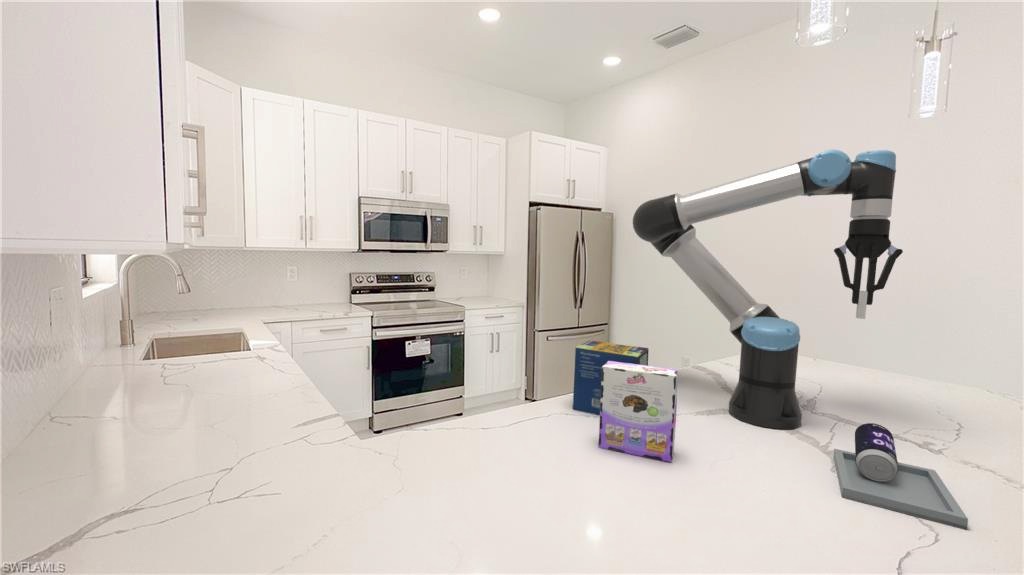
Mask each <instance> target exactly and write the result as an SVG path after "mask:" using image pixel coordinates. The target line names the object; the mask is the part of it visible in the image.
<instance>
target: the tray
mask: <svg viewBox="0 0 1024 575" xmlns="http://www.w3.org/2000/svg"><path fill="white" fill-rule="evenodd" d="M833 460H834V461H833V462H834V465H835V470H836V475H837V480H838V486H839V489H840V495H841V498H844V499H848V500H851V501H855V502H858V503H863V504H867V505H871V506H873V507H874V506H875V507H878V508H883V509H886V510H890V511H894V512H898V513H901V514H905V515H909V516H912V517H916V518H921V519H925V520H928V521H932V522H936V523H939V522H940V524H943V523H945V524H944V525H947V524H949V525H948V526H951V525H952V526H951V527H955V526H956V528H958V527H959V528H958V529H962V528H963V530H966V529H967V530H968V523H969V518H968V517H967V515H966V513H964V510H962V508H961V506H960V505H959V503H958V502H957V501H956V499H955V497H954V495H952V493H951V492H950V490H949V489H948V487H947V486H946V485H945V483H944V481H943V479H942V478H941V477H940V476H939V474H938V472H937V471H936V470H935V469H932V468H926V467H921V466H917V465H912V464H908V463H904V462H898V461H897V462H898V472H897V474H896V475H895V476H894V477H893V478H892V479H890V480H888V481H882V482H881V481H875V480H872V479H869V478H868V477H866V476H865V475H864V474H863V473H862V472H861V471H860V470H859V469H858V467H857V465H856V462H855V452H852V451H848V450H842V449H838V448H833Z"/></svg>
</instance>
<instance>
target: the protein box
mask: <svg viewBox="0 0 1024 575" xmlns="http://www.w3.org/2000/svg"><path fill="white" fill-rule="evenodd" d="M574 348H575V350H574V353H575V354H574V370H573V371H574V372H573V373H574V374H573V395H572V396H573V398H572V410H575V411H579V412H583V413H588V414H593V415H597V416H600V399H601V375H602V366H604V365H605V364H606V363H607V362H608V361H614V362H622V363H630V364H638V365H646V366H649V352H650V351H649V348H648V347H642V346H634V345H627V344H618V343H614V342H613V343H612V342H611V343H610V342H605V341H596V340H589V341H586V342H584V343H582V344H579V345H577V346H575V347H574Z"/></svg>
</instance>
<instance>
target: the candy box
mask: <svg viewBox="0 0 1024 575" xmlns="http://www.w3.org/2000/svg"><path fill="white" fill-rule="evenodd" d="M678 379H679V369H678V368H677V369H676V368H669V367H661V366H654V365H653V366H651V365H648V366H646V365H638V364H630V363H622V362H614V361H608V362H607V363H606V364H605V365H604V366H602V375H601V399H600V415H599V428H598V444H597V447H598V448H599V449H606V450H609V451H615V452H618V453H619V452H620V453H625V454H628V455H629V454H630V455H633V456H639V457H643V458H644V457H645V458H649V459H655V460H659V461H664V462H669V463H672V461H673V457H674V452H675V439H676V438H675V436H676V423H677V405H678Z"/></svg>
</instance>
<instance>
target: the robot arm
mask: <svg viewBox="0 0 1024 575" xmlns="http://www.w3.org/2000/svg"><path fill="white" fill-rule="evenodd" d="M896 165H897V156H896V153H895V152H894V151H892V150H888V149H885V150H884V149H881V150H879V149H878V150H870V151H864V152H860V153H858V154H857V155H855V159H854V160H853V161H852V160H851V158H850V157H849V155H848V154H847V153H845V152H844V151H843V150H839V149H825V150H824V151H820V152H819V153H817V154H816V155H815V156H813V157H810V158H807V159H803V160H800V161H798V162H797V161H796V162H793V163H790V164H787V165H782V166H780V167H776V168H772V169H769V170H766V171H763V172H762V171H761V172H759V173H756V174H752V175H749V176H746V177H742V178H738V179H734V180H732V181H727V182H725V183H721V184H718V185H714V186H711V187H709V188H704V189H701V190H698V191H694V192H691V193H688V194H683V195H681V194H680V193H678V192H677V193H676V192H675V193H674V194H670V195H666V196H662V197H659V198H654V199H650V200H647V201H644V202H643V203H641V204H640V205H639V206H638V207H637V209H635V211H634V214H633V217H632V228H633V230H634V232H635V235H637V236H638V238H639V239H641V240H643V241H645V242H648V243H650V244H651V245H652V246H653V247H654V249H656V251H657V252H658V253H659V254H660V255H661V256H662V257H665V258H667V257H668V258H671V259H672V260H673V261H674V262H675V264H677V266H678V267H679V268H680V270H682V272H683V273H685V275H686V276H687V277H688V278H689V279H690V280H691V282H693V283H694V285H696V287H697V288H698V289H699V290H700V292H702V293H703V295H704V296H706V298H707V299H708V300H709V301H710V303H712V304H713V306H714V307H715V308H716V309H717V310H718V311H719V312H720V314H721V315H723V317H724V318H725V319H726V320H727V322H729V332H730V334H732V336H733V337H734V338H735V339H737V341H738V342H739V343H740V346H741V347H740V359H739V362H740V363H739V370H738V372H739V373H738V374H739V375H738V382H737V384H736V387H735V389H734V391H733V393H732V395H731V397H730V398H729V401H728V402H729V403H728V412H729V414H730V415H731V416H732V417H734V418H736V419H738V420H740V421H741V422H745V423H748V424H751V425H755V426H758V427H759V426H760V427H763V428H768V429H770V428H771V429H777V430H791V429H797V428H800V426H801V425H802V417H803V415H802V411H801V407H800V403H799V400H798V396H797V393H796V381H797V380H796V378H797V368H798V367H797V366H798V357H799V356H798V355H799V344H800V341H801V335H800V334H801V333H800V327H799V326H798V325H797V323H795V322H794V321H791V320H788V319H785V318H781V317H780V316H779V315H778V314H777V313H776V312H775V311H774V310H773V309H772V307H770V306H769V304H767V303H759V302H757V301H756V300H755V298H753V297H752V295H751V294H750V293H749V292H748V291H747V290H746V289H745V288H744V286H742V285H741V284H740V283H739V282H738V281H737V279H736V278H735V277H733V275H732V274H731V273H730V272H729V271H728V270H727V269H726V268H725V267H724V265H722V263H721V262H720V261H719V260H718V259H717V258H716V257H715V256H714V255H713V254H712V253H711V252H710V251H709V250H708V249H707V247H706V246H704V244H703V243H702V242H701V241H700V240H699V239H698V238H697V237H696V233H697V232H696V231H697V229H696V228H695V227H694V226H693V224H696V223H700V222H705V221H708V220H711V219H716V218H718V217H724V216H727V215H728V216H729V215H731V214H735V213H739V212H742V211H747V210H749V209H753V208H757V207H761V206H765V205H768V204H771V203H777V202H780V201H783V200H787V199H788V200H789V199H791V198H795V197H798V196H804V197H805V196H807V197H812V196H833V195H851V203H850V204H851V206H850V215H849V217H850V218H851V220H850V221H849V226H848V235H847V239H846V240H845V242H844V244H842V245H841V246H838V247H835V248H834V249H833V253H834V254H835V255H836V257H837V258H838V262H839V269H840V273H841V277H842V282H843V286H844V287H845V288H847V289H850V290H852V293H851V294H852V295H851V302H852V303H851V304H852V305H853V304H854V305H855V304H856V313H855V318H856V319H862V320H863V319H864V320H865V319H866V312H867V306H871V305H873V300H874V293H875V292H876V291H879V290H883V289H884V288H885V287H886V284H887V282H888V279H889V277H890V275H891V272H892V270H893V267H894V265H895V262H896V260H897V259H898V258H899V257H900V256H901V255H902V254H903V249H901V248H898V247H896V246H894V245H892V242H891V239H890V230H891V229H890V228H891V220H890V219H888V218H890V217H892V212H893V197H894V188H895V180H896V178H895V177H896V172H897V169H896V168H897V166H896ZM847 250H848V251H849V252H850V253H851V255H852V256H853V257H854V270H853V271H854V272H853V281H852V282H853V283H851V279H850V274H849V268H848V264H847V260H846V258H847V257H846V256H845V255H846V254H847ZM886 251H887V255H888V257H887V259H886V261H885V263H884V265H883V268H882V270H881V273H880V276H879V278H878V280H877V283H876V273H877V263H878V258H880V256H882V255H883V254H884V253H885V252H886ZM864 259H868V264H867V265H868V266H867V267H868V268H867V277H866V288H865V290H861V285H862V284H861V283H862V275H863V273H862V272H863V264H864Z"/></svg>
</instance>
